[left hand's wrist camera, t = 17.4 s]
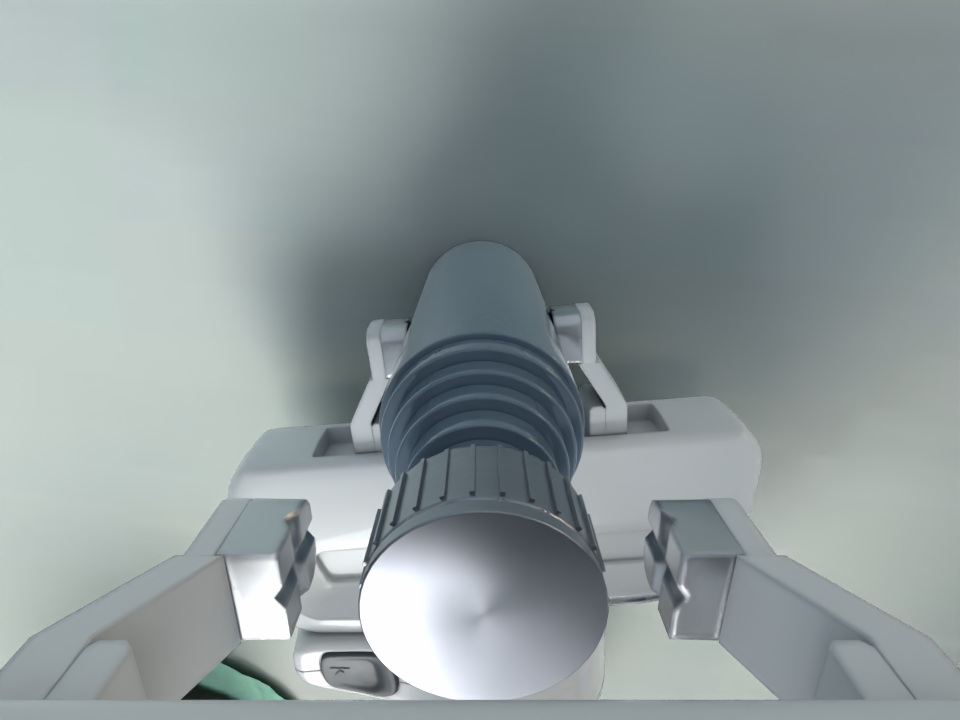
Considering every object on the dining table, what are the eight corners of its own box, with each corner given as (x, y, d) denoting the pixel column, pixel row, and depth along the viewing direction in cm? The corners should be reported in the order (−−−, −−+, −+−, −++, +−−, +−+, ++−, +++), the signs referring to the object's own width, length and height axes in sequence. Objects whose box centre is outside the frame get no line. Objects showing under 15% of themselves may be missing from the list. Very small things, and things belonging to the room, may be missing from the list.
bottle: (406, 264, 25) (264, 513, 9) (516, 223, 25) (593, 408, 8) (448, 365, 27) (399, 732, 10) (552, 330, 26) (676, 662, 10)
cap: (398, 625, 11) (383, 716, 10) (353, 455, 10) (326, 525, 8) (596, 603, 11) (619, 693, 9) (581, 426, 10) (604, 492, 8)
